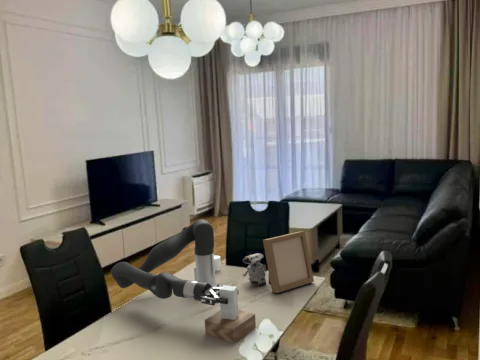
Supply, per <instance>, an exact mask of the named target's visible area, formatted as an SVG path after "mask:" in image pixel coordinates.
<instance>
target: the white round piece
mask: <svg viewBox="0 0 480 360" xmlns="http://www.w3.org/2000/svg"><path fill="white" fill-rule="evenodd" d="M221 261H222V260H221V256H220V255H215V254H214V264H215V272H220V271H221Z"/></svg>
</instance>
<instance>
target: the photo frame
mask: <svg viewBox="0 0 480 360" xmlns="http://www.w3.org/2000/svg"><path fill="white" fill-rule="evenodd" d="M262 243H263V247H264V255H265V259H266V267H267V271H268V276H267V277H268V283H269V284H270V288H271V292H272V293H276V294H280V293H282V292H284V291H285V292H286V291H288V290H291V289H294V288H297V287H301V286H304V285H305V286H306V285H307V284H311V283H313V282H315V280H314V274H313V269H312V268H313V267H312V264H311V258H310V253H309V248H308V247H309V246H308V242H307V237H306V231H305V230H303V231H295V232H292V233H287V234H283V235H279V236H274V237H270V238H266V239H262Z"/></svg>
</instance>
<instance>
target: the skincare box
mask: <svg viewBox="0 0 480 360" xmlns="http://www.w3.org/2000/svg"><path fill="white" fill-rule="evenodd" d="M224 285H225V284H223V286H222V287H221V288H220V289H219V292H220V297H223V298H228V304H221V303H219V305H220V308H219V309H220V310H221V318H223V319H231V320H235V319H236V318H237V317H238V316H239V311H238V309H239V299H238V298H239V297H238V296H239V294H238V293H237V290H238V286H234V285H233V286H232V285H231V286H224Z"/></svg>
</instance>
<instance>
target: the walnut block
mask: <svg viewBox="0 0 480 360" xmlns="http://www.w3.org/2000/svg"><path fill="white" fill-rule="evenodd" d="M238 311H239V316H238V317H237V318H236V319H235V320H231V319H223V318H221V309H220V310H218V311H217V312H216V313H213V314H212V315H210V316H208V317H207V318H205V319H204V330H205V331H204V332H205V334H207V335H209V336H213V337H214V338H217V339H220V340H224V341H227V342H229V343H232V344H235V343H236V342H238V341H239V340H241V339H242V338H243V337H244V336H246V335H248V334H249V333H250V332H251V331H253V330H255V329H256V327H257V325H256V313H252V312H249V311H245V310H241V309H239V308H238Z"/></svg>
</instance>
